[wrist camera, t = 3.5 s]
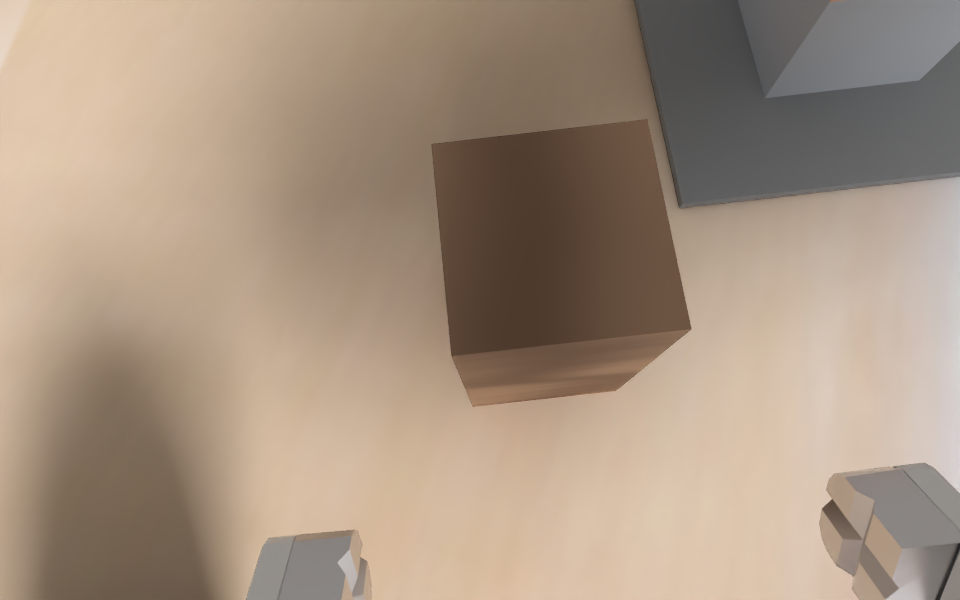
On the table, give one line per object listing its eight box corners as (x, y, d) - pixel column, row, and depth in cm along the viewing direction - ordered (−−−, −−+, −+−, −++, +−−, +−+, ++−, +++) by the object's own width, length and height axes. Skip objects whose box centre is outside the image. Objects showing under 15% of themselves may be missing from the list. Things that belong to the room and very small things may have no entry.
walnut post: (593, 256, 23) (647, 119, 14) (616, 390, 21) (691, 328, 13) (459, 271, 23) (431, 143, 14) (473, 406, 21) (451, 356, 13)
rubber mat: (934, -119, 27) (940, -127, 27) (1052, 165, 23) (1061, 160, 23) (616, -81, 27) (618, -90, 27) (679, 208, 23) (682, 203, 23)
